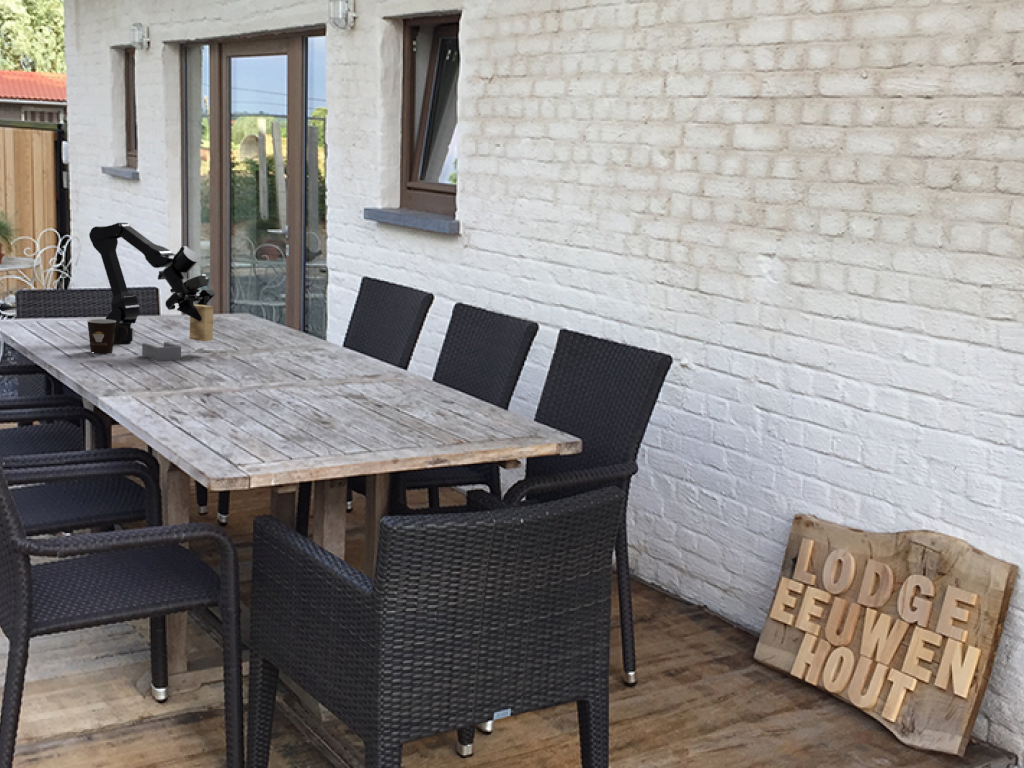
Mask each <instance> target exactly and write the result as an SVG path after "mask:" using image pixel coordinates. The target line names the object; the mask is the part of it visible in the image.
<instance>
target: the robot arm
mask: <svg viewBox="0 0 1024 768" xmlns="http://www.w3.org/2000/svg"><path fill="white" fill-rule="evenodd" d="M88 236H89V240H90V241H91V244H92V246H93V248H94V249H95V250H96V251H97V253H99V254H100V256H101V261H102V263H103V267H104V270H105V274H106V277H107V281H108V284H109V286H110V290H111V294H112V298H111V303H110V306H111V312H110V313H109V314H107V316H106V317H105V319H108V320H114V321H116V327H118V326H124V327H125V328H127V331H128V334H127V336H126V337H125V338H124V339H123V340H121V341H119V342H118V343H117V344H131V343H132V342H133V340H134V328H133V327H132V324H136V322H137V318H138V316H139V314H140V308H141V306H140V305H139V302H138V297H137V295H132V294H131V293H130V292H129V290H128V288H127V283H126V281H125V280H126V279H125V276H124V274H123V271H122V268H121V264H120V261H119V257H118V254H117V247H118V244H119V241H118V239H120V238H121V239H123V240H124V241H125V242H127V243H128V244H130V245H131V246H132V247H134V248H135V249H136V250H137V251H139V252H140V253H141V254H142V255H143V256H144V258H145V260H146V261H147V262H148V264H149V265H151V267H153V268H154V269H155V268H156V269H159V268H160V269H161V268H164V269H163V270H160V271H158V276H157V280H159V281H160V280H165V282H167V284H168V285H169V286H170V288H171V289H170V290H169V291H170V293H171V295H170V296H169V297H168V298H167V299H166V300H165V307H166V308H167V310H168V311H172V310H175V309H176V311H178V312H181V313H183V314H185V315H187V316H189V317H190V316H191V317H193V318H194V319H196V320H198V321H201V320H202V318H201V316H200V314H199V313H198V311H197V309H196V308H195V306H194V305H196V304H201V305H208V303H210V301H211V300H212V299H213V298H214V297H215V296H216V293H215V292H214V290H213V289H211V288H209V289H202V290H201V289H200V288H203V287H206V286H208V285H209V283H210V278H209V277H208V276H207V275H206V274H205V273H203V274H201V275H197V276H194V277H192V278H187V277H186V275H185V274H186V273H189V272H190V271H191V269H193V268H194V266H195V265H197V263H198V262H199V261H200V256H199V255H198V253H197V252H195V251H193V250H192V249H190V248H189V247H188V246H186V245H184V246H181V247H180V249H179V250H178V251H177V253H174V252H173V251H171V249H168V248H166V247H165V246H161V245H158V244H155V243H154V242H152V241H151V240H150V239H148V238H147V237H146V236H144V235H143V234H141V233H140V232H139V231H138V230H136V229H135V228H133V227H132V226H131V224H129V223H128V222H116V223H114V224H110V225H107V226H106V225H104V226H93V227H92V228H91V230H90V231H89V234H88ZM184 273H185V274H184ZM197 293H198V294H197ZM175 304H178V305H177V306H178V307H177V308H176V305H175ZM125 335H126V331H125V329H123V328H118V329H117V330H116V332H115V335H114V342H116V341H118V340H120V339H121V338H123V337H124V336H125Z"/></svg>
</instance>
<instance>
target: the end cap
mask: <svg viewBox="0 0 1024 768" xmlns="http://www.w3.org/2000/svg"><path fill="white" fill-rule="evenodd" d="M141 344H142V345H141V349H142V350H141V356H142V357H144V356H145V357H144V358H147V357H148V358H147V359H149V358H150V359H149V360H152V361H155V362H159V361H160V360H162V361H173V360H174V361H175V360H176V361H177V359H179V360H182V346H180V345H176V344H174V343H172V342H169V341H163V346H162V347H161V346H160V347H159V346H155V345H152V344H150V343H147V342H142V343H141Z"/></svg>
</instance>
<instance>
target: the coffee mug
mask: <svg viewBox="0 0 1024 768" xmlns="http://www.w3.org/2000/svg"><path fill="white" fill-rule="evenodd" d="M118 328H123V329H125V331H126V335H125V336H124V337H123V338H121V339H120V340H118V341H116V342H114V335H115V332H116V330H117V329H118ZM87 329H88V331H87V332H88V338H89V347H90V348H89V349H90V353H91V352H94V353H110V354H113V349H114V348H113V347H114V346H115V345H116V344H119V343H118V342H119V341H121V340H123V339H124V338H125V337H126V336H127V334H128V331H127V328H125V327H124V326H118V327H116V321H114V320H108V319H106V318H96V319H92V318H91V319H88V320H87ZM94 353H93V354H94Z"/></svg>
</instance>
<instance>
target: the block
mask: <svg viewBox="0 0 1024 768" xmlns="http://www.w3.org/2000/svg"><path fill="white" fill-rule="evenodd" d="M194 306H195V308H196V309H197V311H198V313H199V314H200V316H201V318H202V320H201V321H198V320H196V319H194V318H193V317H191V316H189V340H193V341H200V342H209V341H213V337H214V333H213V332H214V306H213V305H208V304H207V305H201V304H196V305H195V304H194Z"/></svg>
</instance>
